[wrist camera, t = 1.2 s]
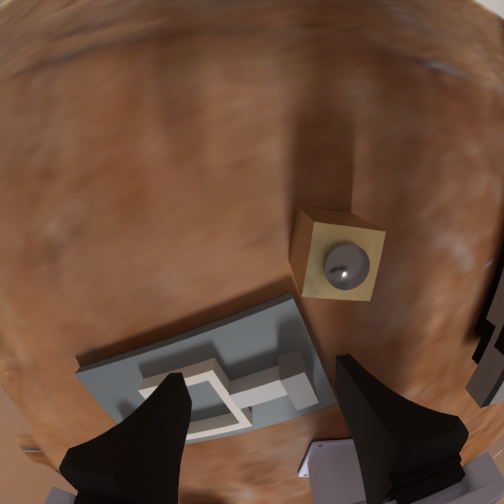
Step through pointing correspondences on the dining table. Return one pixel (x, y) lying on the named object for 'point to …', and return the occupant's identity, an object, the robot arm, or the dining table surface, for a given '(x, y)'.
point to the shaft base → (223, 372)
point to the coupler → (335, 254)
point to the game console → (490, 345)
